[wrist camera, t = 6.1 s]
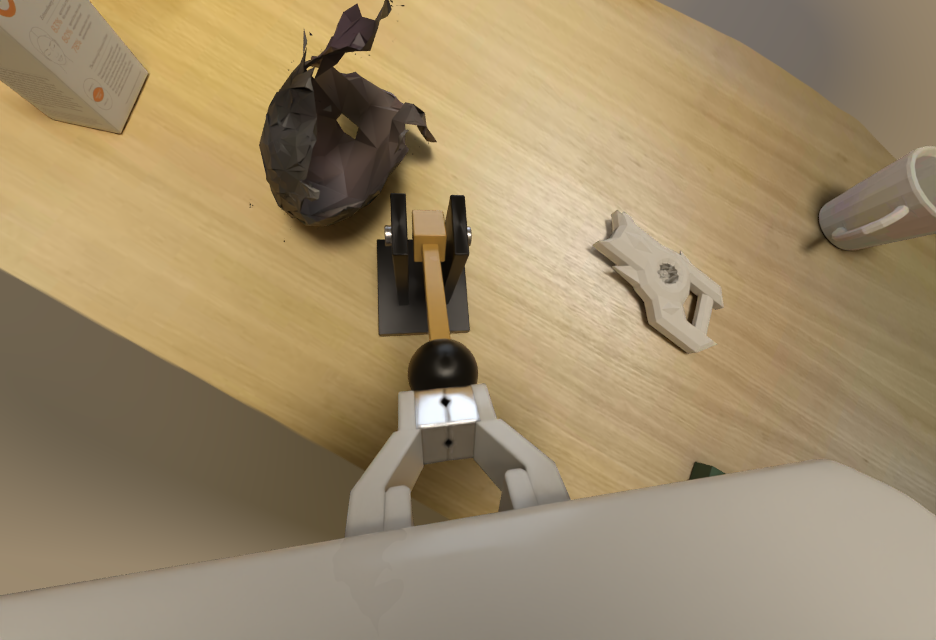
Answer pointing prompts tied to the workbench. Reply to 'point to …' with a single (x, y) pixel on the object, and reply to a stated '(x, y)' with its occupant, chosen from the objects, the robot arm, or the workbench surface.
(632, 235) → the beige holed clip
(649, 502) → the robot arm
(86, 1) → the small box
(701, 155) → the workbench surface
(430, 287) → the lever
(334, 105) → the crumpled paper
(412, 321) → the black lever stand
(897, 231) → the mug
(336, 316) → the workbench surface
